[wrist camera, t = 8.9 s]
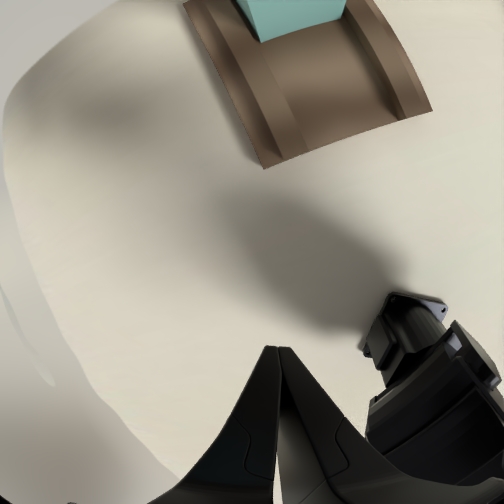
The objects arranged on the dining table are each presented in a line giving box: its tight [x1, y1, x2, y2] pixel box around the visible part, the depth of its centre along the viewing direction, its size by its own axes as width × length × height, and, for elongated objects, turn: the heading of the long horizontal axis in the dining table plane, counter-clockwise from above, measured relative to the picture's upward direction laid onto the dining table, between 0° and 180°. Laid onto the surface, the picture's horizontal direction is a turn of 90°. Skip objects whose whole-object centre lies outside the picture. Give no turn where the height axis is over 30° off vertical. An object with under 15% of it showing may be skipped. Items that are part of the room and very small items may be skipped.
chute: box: [183, 0, 433, 169], centre depth 14 cm, size 15×13×5 cm
